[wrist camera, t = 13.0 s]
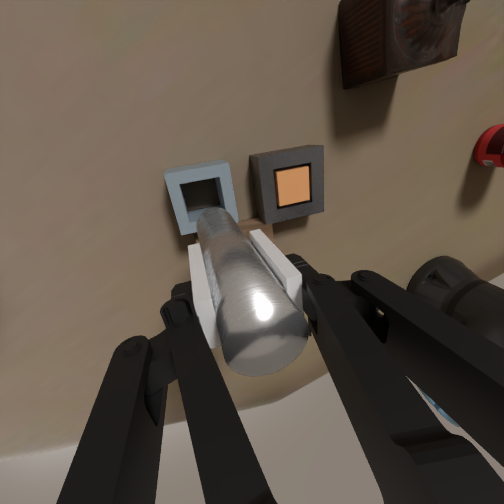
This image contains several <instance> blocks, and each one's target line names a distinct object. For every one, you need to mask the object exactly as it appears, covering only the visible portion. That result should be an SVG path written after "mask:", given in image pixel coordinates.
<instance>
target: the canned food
mask: <svg viewBox="0 0 504 504" xmlns="http://www.w3.org/2000/svg"><path fill="white" fill-rule="evenodd" d="M474 157H475V160H476V162H477V163H478V164H481V165H483V166H491V167H502V168H504V124H500V125H496V126H493V127H491V128H489V129H487V130H486V131H485V132H484V133H483V134H482V135H481V137H480V138H479V140H478V141H477V144H476V146H475V150H474Z"/></svg>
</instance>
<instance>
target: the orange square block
mask: <svg viewBox="0 0 504 504" xmlns="http://www.w3.org/2000/svg"><path fill="white" fill-rule="evenodd" d="M273 175H274V185H275V195H276V204H277V205H279V206H283V205H288V204H292V203H297V202H301V201H306V200H310V195H309V166H304V165H294V166H289V167H284V168H278V169H273Z"/></svg>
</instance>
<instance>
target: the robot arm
mask: <svg viewBox="0 0 504 504" xmlns="http://www.w3.org/2000/svg"><path fill="white" fill-rule="evenodd" d="M249 234H250V240H251V244H252V245H253V246H254V248H255V249H256V251H257V252H258V253H259V255H260V256H261V258H262V259H263V260H264V262H265V263H266V265H267V266H268V267H269V269H270V270H271V271H272V273H273V274H274V276H275V277H276V278H277V280H278V281H279V283H280V284H281V285H282V287H283V288H284V290H285V291H286V292H287V294H288V295H289V297H290V298H291V299H292V301H293V302H294V303H295V305H296V306H297V308H298V309H299V310H300V312H301V313H302V315H303V316H304V312H305V313H306V314H307V316H308V327H309V336H311V332H312V334H313V336H314V338H315V341H316V343H317V345H318V347H319V350H320V352H321V354H322V357H323V359H324V361H325V364H326V366H327V368H328V370H329V373H330V375H331V377H332V379H333V382H334V384H335V386H336V389H337V391H338V393H339V396H340V398H341V400H342V403H343V405H344V407H345V410H346V412H347V414H348V417H349V419H350V421H351V423H352V426H353V428H354V430H355V432H356V435H357V437H358V440H359V442H360V444H361V446H362V449H363V451H364V453H365V456H366V458H367V460H368V463H369V465H370V467H371V470H372V472H373V474H374V476H375V479H376V481H377V483H378V485H379V488H380V491H381V494H382V497H383V500H384V504H504V482H503V481H502V479H501V478H500V477H499V476H498V474H497V473H496V472H495V470H494V469H493V468H492V467H491V465H490V464H489V463H488V462H487V460H486V459H485V458H484V457H483V456H482V454H481V453H480V452H479V451H478V450H477V449H476V447H475V446H474V445H473V444H472V443H471V442H470V441H468V440H467V439H465V438H464V437H463V436H459V435H455V434H451V433H450V432H449V431H447V430H446V429H445V427H444V426H443V425H442V424H441V423H440V421H439V420H438V419H437V417H436V416H435V414H434V413H433V412H432V410H431V409H430V408H429V406H428V405H427V404H426V402H425V401H424V400H423V399H422V397H421V396H420V394H419V393H418V392H417V390H416V389H415V388H414V386H413V385H412V383H411V382H410V381H409V379H410V380H411V381H412V382H413V383H415V384H416V385H417V387H418V388H419V390H420V391H421V392H422V394H423V395H424V396H425V398H426V399H427V400H428V401H429V402H430V403H431V404H432V405H433V406H434V407H435V408H436V409H437V411H438V412H439V413H440V414H441V415H442V416H443V417H444V418H445V419H447V420H448V421H449V422H450V423H452V424H454V425H455V426H457V427H461V428H462V429H464V430H465V431H466V432H467V433H468V434H469V435H470V436H471V437H472V438H473V439H474V440H475V441H476V442H477V443H478V444H479V445H480V446H482V447H483V448H484V449H485V450H486V451H487V452H488V453H489V454H490V455H491V456H492V457H493V458H495V459H496V461H498V462H499V463H500V464H501V465H502V466H503V467H504V289H502V288H499V287H497V286H495V285H493V284H491V283H488V282H486V281H484V280H482V279H480V278H479V277H478V276H477V275H476V274H474V273H473V272H472V271H471V270H470V269H468V268H467V267H466V266H465V265H464V264H463V263H462V262H460V261H459V260H457V259H454V258H452V257H449V256H440V257H436V258H434V259H432V260H430V261H428V262H427V263H426V264H424V265H423V266H422V267H421V268H420V269H419V270H418V271H417V272H416V273H415V275H414V276H413V278H412V279H411V281H410V283H409V286H408V289H407V291H406V290H405V289H403V288H401V287H399V286H398V285H396V284H394V283H393V282H391V281H389V280H388V279H386V278H384V277H383V276H381V275H379V274H378V273H375V272H373V271H368V270H360V271H356V272H354V273H353V274H352V275H351V280H347V281H335V280H334V279H333V278H332V277H331V276H329V275H326V274H319V273H318V272H317V271H316V270H314V269H313V268H312V267H311V266H310V265H309V264H308V263H307V262H306V261H305V260H304V259H303V258H302V257H301V256H299V255H296V254H294V253H293V254H289V255H285V256H284V255H283V253H282V252H281V251H280V250H279V249H278V248H277V247H276V246H275V245H274V244H273V243H272V242H271V241H270V239H269V238H268V237H267V236H266V235H265V234H264V233H263V232H262V231H261V230H260V229H257V230H252V231H249ZM188 252H189V262H190V272H191V281H188V282H184V283H180V284H177V285H175V286H174V288H173V289H172V291H171V300H169V301H167V302H166V303H165V304H164V305H163V306H162V307H161V309H160V313H161V316H162V319H163V321H164V324H165V326H166V329H165V330H164V331H163V332H161V333H160V334H158V335H157V336H155V337H153V338H151V339H149V340H148V339H147V338H146V337H145V336H141V335H140V336H134V337H131V338H128V339H127V340H125V341H124V342H122V343H121V344H120V345H119V346H118V347H117V348H116V350H115V351H114V353H113V356H112V358H111V361H110V364H109V366H108V369H107V371H106V374H105V377H104V379H103V382H102V385H101V387H100V390H99V393H98V395H97V398H96V400H95V403H94V406H93V408H92V411H91V414H90V416H89V419H88V421H87V424H86V427H85V429H84V432H83V435H82V437H81V440H80V442H79V445H78V448H77V451H76V453H75V456H74V458H73V461H72V463H71V466H70V469H69V472H68V474H67V477H66V479H65V482H64V484H63V487H62V490H61V492H60V495H59V498H58V500H57V503H56V504H155V498H156V489H157V480H158V471H159V462H160V453H161V444H162V435H163V426H164V417H165V408H166V399H167V390H168V384H169V383H171V382H173V381H174V380H176V379H177V378H178V383H179V387H180V392H181V396H182V401H183V405H184V409H185V414H186V418H187V423H188V427H189V432H190V436H191V440H192V445H193V449H194V454H195V458H196V462H197V467H198V471H199V476H200V480H201V485H202V489H203V493H204V498H205V503H206V504H277V502H276V501H275V499H274V497H273V495H272V493H271V490H270V488H269V486H268V484H267V481H266V479H265V476H264V474H263V472H262V469H261V467H260V465H259V462H258V460H257V458H256V455H255V453H254V451H253V448H252V446H251V443H250V441H249V439H248V436H247V434H246V432H245V429H244V427H243V424H242V422H241V420H240V417H239V415H238V413H237V410H236V408H235V406H234V403H233V401H232V398H231V396H230V394H229V391H228V389H227V387H226V384H225V382H224V380H223V377H222V375H221V372H220V370H219V368H218V365H217V363H216V361H215V358H214V356H213V354H212V351H211V349H212V348H216V347H219V346H221V341H220V336H219V332H218V327H217V322H216V314H215V310H214V305H213V301H212V296H211V292H210V287H209V283H208V278H207V273H206V269H205V264H204V260H203V255H202V251H201V248H200V244H199V243H197V244H193V245H188ZM378 310H381V311H382V312H383V313H384V315H381V314H380V313H379V312H378ZM406 376H407V377H408V378H409V379H408V378H407V377H406Z"/></svg>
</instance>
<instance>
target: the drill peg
mask: <svg viewBox="0 0 504 504" xmlns="http://www.w3.org/2000/svg"><path fill="white" fill-rule="evenodd" d="M196 229H197V234H198V239H199V243H200V248H201V251H202V255H203V260H204V264H205V269H206V273H207V278H208V283H209V287H210V292H211V296H212V301H213V305H214V310H215V314H216V322H217V327H218V332H219V336H220V341H221V346H222V350H223V355H224V359H225V361H226V363H227V365H228V366H229V367H230V368H231V369H232V370H233V371H235V372H236V373H238V374H241V375H245V376H252V377H255V376H264V375H268V374H272V373H274V372H277V371H279V370H281V369H283V368H285V367H286V366H288V365H289V364H290V363H292V362H293V361H294V360H295V359H296V358H297V357H298V356H299V355H300V353H301V352H302V351H303V349H304V347H305V345H306V343H307V340H308V336H309V327H308V323H307V321H306V319H305V317H304V316H303V315H302V313H301V312H300V310H299V309H298V308H297V306H296V305H295V303H294V302H293V301H292V299H291V298H290V297H289V295H288V294H287V292H286V291H285V290H284V288H283V287H282V285H281V284H280V283H279V281H278V280H277V278H276V277H275V276H274V274H273V273H272V271H271V270H270V269H269V267H268V266H267V265H266V263H265V262H264V260H263V259H262V258H261V256H260V255H259V253H258V252H257V251H256V249H255V248H254V246H253V245H252V244H251V242H250V241H249V239H248V238H247V237H246V235H245V234H244V233H243V231H242V230H241V228H240V227H239V226H238V224H237V223H236V221H235V220H234V219H233V217H232V216H231V214H230V213H229V212H228V211H226V210H225V209H223V208H219V207H212V208H208V209H206V210H205V211H203V212H202V213H201V214H200V215H199V217H198V219H197V222H196Z"/></svg>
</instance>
